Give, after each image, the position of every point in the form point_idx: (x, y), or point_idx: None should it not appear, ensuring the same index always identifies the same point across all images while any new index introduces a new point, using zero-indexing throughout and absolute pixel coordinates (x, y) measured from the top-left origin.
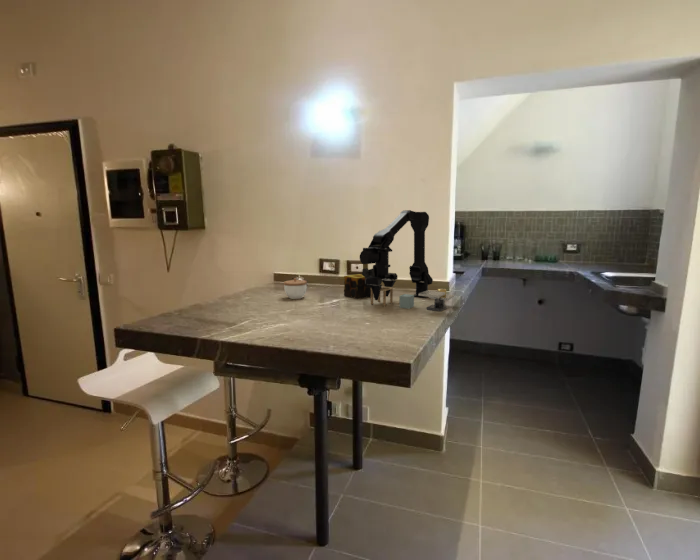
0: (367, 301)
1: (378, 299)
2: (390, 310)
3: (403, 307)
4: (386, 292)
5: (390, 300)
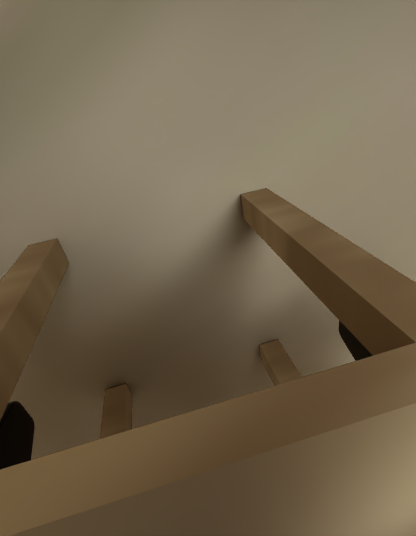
0: (137, 23)
1: (253, 216)
2: None
3: None
4: None
5: (271, 373)
